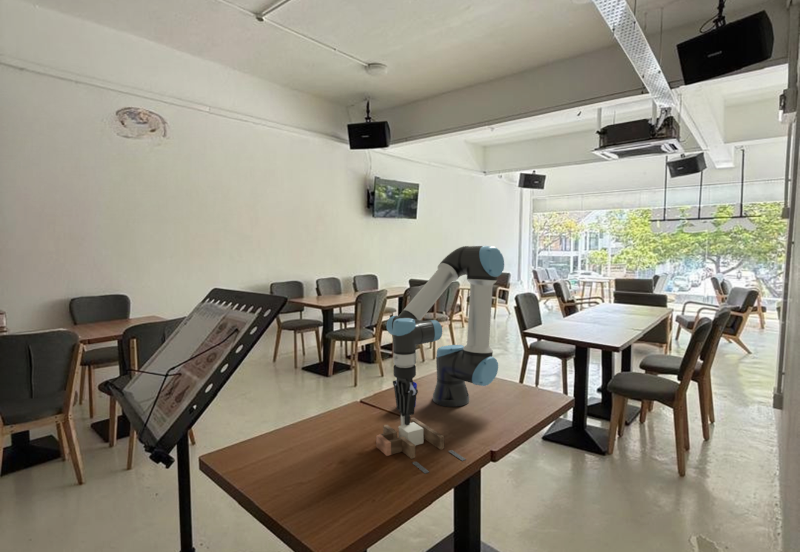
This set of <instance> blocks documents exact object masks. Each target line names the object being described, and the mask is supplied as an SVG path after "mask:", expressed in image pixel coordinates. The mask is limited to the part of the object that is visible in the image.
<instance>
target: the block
mask: <svg viewBox="0 0 800 552" xmlns="http://www.w3.org/2000/svg"><path fill="white" fill-rule="evenodd" d="M403 436H404V437H405V438H406V439H408V440H409V441H410V442H412V443H413V444H415V446H418V445H422V444H424V442H425V441H424V440H425V439H424V438H423V428H422V427H420V426H419V425H417V424H416V423H414V422H412V423H411V422H410V424H409V425H401V424H400V425H398V438H399V437H403Z"/></svg>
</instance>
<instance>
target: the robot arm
mask: <svg viewBox="0 0 800 552" xmlns="http://www.w3.org/2000/svg"><path fill="white" fill-rule="evenodd" d="M504 269H505V258H504V256H503V253H502V252H501V251H500V249H499V248H497V247H495V246H491V245H465V246H461V247H458V248H456V249H455V250H453V251H451V252H449V254H447V255H446V256H445V257H444V258H443V259H442V261H440V263H439V264H438V265H437V270H436V271H435V272H434V274H433V275H432V276H431V277H430V278H429V280H428V281H427V282H426V283H425V284H424V285H423V286H422V287H421V289H420V290H419V291H418V292H417V293H416V294H415V296H414V297H413V298H412V299H411V301H409V303H408V304H407V305H406V306H405V307H404V309H403V310H402V311H401V313H400V314H399V315H392V316H390V317H389V318H388V319H387V322H386V330H387V332H388V333H389V334H390V335H392V346H393V347H392V349H393V351H392V352H393V356H392V359H393V364H394V365H393V377H395V378H396V379H395V380H392V385H393V389H394V395H395V396H394V397H395V398H394V399H395V404H396V410H397V411H398V412H399V414H400V426H401V425H409V424H410V423H411V416H413V415H414V414H415V408H416V406H415V402H417V395H418V393H419V391H418V388H417V389H414V387H413V382H414V380H413V379H414V378H415V377H416V375H417V372H416V371H417V368H416V367H417V366H416V363H417V362H416V360H417V357H416V355H417V354H416V349H417V347H416V346H419V345H422V344H423V345H425V344H427V343H428V344H429V343H433V342H436V341H439V340H441V338H442V336H443V326H442V324H441V323H440V321H438V320H437V319H428V320H422V319H423V318H424V317H425V316H426V314H428V311H430V309H431V308H432V307H433V306H434V305H435V303H436V302H437V301H438V300H439V298H440V297H441V296H442V295H443V293H444V292H445V291H446V289H448V287H449V286H450V285H451V284H452V282H456V281H457V280H458V279H459V278H460V277H462V276H465V275H466V281H468V282H469V284H470V286H469V302H468V303H469V306H468V317H467V318H468V319H467V322H468V324H467V335H466V336H467V339H466V345H465V346H464V345H462V344H449V345H444V346H443V345H442V346H440V347H438V348H437V349H436V356H435V358H436V359H435V361H436V383H435V387H434V391H433V393H432V401H433V403H435V405H438V406H443V407H450V408H451V407H452V408H453V407H462V406H465V405H467V404H469V402H470V394H469V391H468V388H467V385H466V382H467V383H470V384H473V385H474V386H481V387H486V386H488V385H490V384H492V382H493V381H494V380H495V379H496V378H497V374H498V372H499V363H498V361H497V359H496V358H495V357H494V356H493V353H494V352H493V349H492V348H491V347H490V335H491V321H492V320H491V319H492V318H491V317H492V302H493V301H492V300H493V286H494V285H495V284H496V282H498V277H499V276H501V275H502V273H503V271H504Z"/></svg>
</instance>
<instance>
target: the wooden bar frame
mask: <svg viewBox="0 0 800 552" xmlns="http://www.w3.org/2000/svg"><path fill="white" fill-rule="evenodd" d="M412 422H414V423H416V424H417V425H419V426H420V427H422V428H423V439H424V440H425V441H427V442H428V443H430V444H431V445H433V446H434V447H435V448H438V449H439V450H443V449H445V435H442V434H441V433H439V432H438V431H436V430H434V428H431V427H430V426H428V425H427V424H425V423H423V421H420V420H419V419H417V418H416V417H410V423H412ZM382 429H383V430H382V431H383V433H380V434H376V435H375V436H376V443H375V444H376V448H377V449H378V450H379V451H381V452H382V453H383V454H384V455H385V456H386V457H389V456H391V455H395V454H398V453H401V452H402V453H403V454H405V455H406V456H407V457H408V458H410V459H414V458H416V445H415V444H413V443H412V442H410V441H409V440H408V439H406V438H405V437H404V436H403V437H399V436H398V431H397V430H396V429H394V428H393V427H391V426H390V425H389V424H384V425H383V427H382Z"/></svg>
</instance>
